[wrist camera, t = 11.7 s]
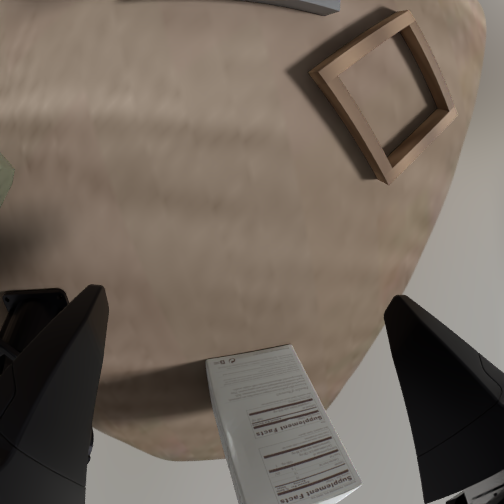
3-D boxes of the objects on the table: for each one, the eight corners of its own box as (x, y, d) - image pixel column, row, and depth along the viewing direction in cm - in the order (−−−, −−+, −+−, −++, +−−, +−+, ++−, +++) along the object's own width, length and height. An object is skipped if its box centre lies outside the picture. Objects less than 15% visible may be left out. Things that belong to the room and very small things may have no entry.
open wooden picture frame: (377, 179, 22) (388, 185, 21) (307, 72, 17) (318, 71, 15) (446, 111, 21) (458, 115, 19) (396, 11, 15) (409, 9, 14)
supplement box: (283, 390, 35) (335, 505, 21) (211, 405, 32) (247, 531, 18) (293, 341, 30) (367, 484, 16) (203, 357, 27) (249, 524, 13)
